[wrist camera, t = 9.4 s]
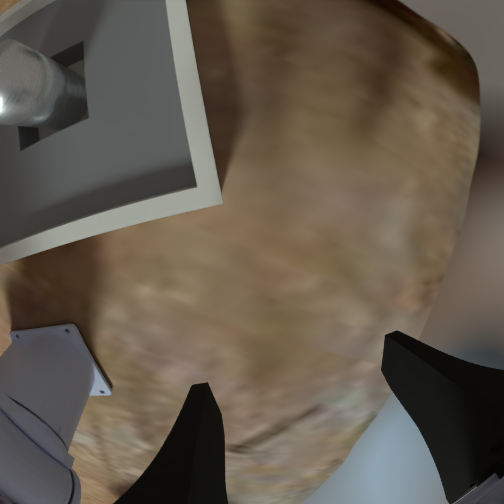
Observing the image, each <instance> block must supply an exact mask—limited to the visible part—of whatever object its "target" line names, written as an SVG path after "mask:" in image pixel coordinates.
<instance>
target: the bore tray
mask: <svg viewBox="0 0 504 504" xmlns="http://www.w3.org/2000/svg"><path fill="white" fill-rule="evenodd" d="M9 39H13V40H16V41H18V42H20V43H22V44H24V45H26V46H28V47H30V48H32V49H34V50H36V51H38V52H39V53H41V54H43V55H45V56H47V57H49V58H51V59H53V60H54V61H56V62H58V63H60V64H62V65H63V66H65V67H67V68H69V69H71V70H72V71H74V72H76V73H78V74H79V75H81V76H83V77H84V78H85V84H86V95H87V104H88V110H87V112H86V114H85V116H84V117H83V118H82V119H81V121H80V122H79V123H76V124H74V125H72V126H69V127H67V128H65V129H63V130H61V131H58V130H51V129H42V128H34V127H24V126H13V125H0V266H1V265H3V264H6V263H9V262H12V261H15V260H18V259H20V258H23V257H26V256H29V255H32V254H35V253H38V252H42V251H45V250H48V249H51V248H54V247H57V246H60V245H64V244H67V243H70V242H74V241H77V240H80V239H84V238H87V237H91V236H94V235H98V234H101V233H105V232H108V231H112V230H116V229H119V228H123V227H127V226H131V225H134V224H138V223H142V222H146V221H150V220H154V219H158V218H162V217H166V216H170V215H175V214H179V213H183V212H187V211H192V210H196V209H201V208H205V207H210V206H214V205H219V204H223V200H222V194H221V188H220V183H219V179H218V174H217V169H216V164H215V158H214V153H213V148H212V143H211V138H210V133H209V128H208V122H207V117H206V112H205V106H204V101H203V96H202V90H201V85H200V79H199V74H198V68H197V63H196V57H195V51H194V45H193V40H192V34H191V28H190V22H189V16H188V10H187V4H186V0H21V1H19V2H18V3H16V4H15V5H14V6H12V7H11V8H9V9H8V10H7V11H5V12H4V13H3V14H1V15H0V42H2V41H5V40H9Z"/></svg>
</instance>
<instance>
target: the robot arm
mask: <svg viewBox="0 0 504 504" xmlns="http://www.w3.org/2000/svg"><path fill="white" fill-rule="evenodd" d="M67 329H68V330H69V331H68V330H67ZM9 337H10V339H11V341H12V344H11V345H10V346H9V347H8V348H7V349H6V351H5V352H4V353H3V354H2V355H1V357H0V504H80V500H81V484H80V480H79V477H78V475H77V473H76V472H75V471H74V470H73V469H72V465H73V462H74V458H73V457H72V456H71V455H70V454H69V453H68V450H69V447H70V444H71V441H72V439H73V436H74V433H75V430H76V428H77V425H78V423H79V420H80V417H81V415H82V412H83V410H84V407H85V405H86V402H87V400H88V398H89V396H94V395H111V393H112V389H111V387H110V386H109V384H108V383H107V381H106V379H105V378H104V376H103V374H102V373H101V371H100V369H99V368H98V366H97V364H96V362H95V361H94V359H93V357H92V355H91V353H90V352H89V350H88V348H87V346H86V344H85V342H84V340H83V338H82V336H81V334H80V332H79V330H78V328H77V327H76V326H75V325H74V324H71V323H70V324H63V325H56V326H49V327H41V328H34V329H25V330H17V331H11V332H10V333H9ZM381 371H382V373H383V375H384V377H385V379H386V381H387V383H388V385H389V386H390V388H391V390H392V391H393V393H394V394H395V396H396V397H397V398H398V400H399V401H400V403H401V404H402V405H403V407H404V408H405V410H406V411H407V412H408V414H409V415H410V416H411V418H412V419H413V421H414V422H415V424H416V425H417V427H418V428H419V430H420V432H421V434H422V436H423V438H424V440H425V442H426V444H427V446H428V448H429V450H430V452H431V455H432V457H433V459H434V462H435V464H436V467H437V470H438V472H439V475H440V478H441V481H442V485H443V488H444V491H445V495H446V499H447V501H448V502H449V504H452V503H454V502H456V501H457V500H459V499H460V498H462V497H463V496H464V495H466V494H467V493H468V492H470V491H471V490H472V489H474V488H475V487H476V486H477V488H476V489H474V490H473V491H472V492H470V493H469V494H468V495H466V496H465V497H464V498H462V499H461V500H459V501H458V502H456V503H455V504H504V370H500V369H495V368H489V367H485V366H480V365H477V364H474V363H470V362H467V361H464V360H461V359H459V358H456V357H453V356H451V355H448V354H446V353H444V352H441V351H439V350H437V349H435V348H433V347H431V346H428V345H426V344H424V343H422V342H420V341H418V340H416V339H414V338H412V337H410V336H408V335H406V334H404V333H402V332H400V331H394V332H392V333H389V334H386V335H385V340H384V350H383V359H382V367H381ZM102 390H103V391H102ZM2 494H3V495H4V496H3V495H2ZM6 497H7V498H6ZM9 499H10V500H9ZM113 504H228V500H227V493H226V483H225V435H224V428H223V420H222V414H221V412H220V409H219V407H218V405H217V403H216V400H215V398H214V396H213V394H212V391H211V389H210V387H209V384H208V382H207V383H201V384H194V385H192V386H191V388H190V390H189V393H188V395H187V398H186V400H185V402H184V405H183V407H182V409H181V411H180V414H179V416H178V418H177V420H176V422H175V424H174V426H173V428H172V430H171V432H170V433H169V435H168V437H167V439H166V440H165V442H164V444H163V446H162V447H161V449H160V451H159V452H158V454H157V455H156V457H155V458H154V459H153V461H152V462H151V464H150V465H149V466H148V468H147V469H146V470H145V471H144V473H143V474H142V475H141V476H140V478H139V479H138V480H137V481H136V482H135V483H134V484H133V485H132V486H131V487H130V488H129V489H128V490H127V491H126V492H125V493H124V494H123V495H122V496H121V497H120V498H119V499H118V500H117V501H116V502H114V503H113Z"/></svg>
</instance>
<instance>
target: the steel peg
mask: <svg viewBox="0 0 504 504" xmlns="http://www.w3.org/2000/svg"><path fill="white" fill-rule="evenodd" d="M87 110H88V104H87V95H86V84H85V78H84V77H83V76H81V75H79V74H78V73H76V72H74V71H72V70H71V69H69V68H67V67H65V66H63V65H62V64H60V63H58V62H56V61H54V60H53V59H51V58H49V57H47V56H45V55H43V54H41V53H39V52H38V51H36V50H34V49H32V48H30V47H28V46H26V45H24V44H22V43H20V42H18V41H16V40H13V39H9V40H5V41H2V42H0V125H13V126H24V127H34V128H42V129H51V130H58V131H61V130H63V129H65V128H67V127H69V126H72V125H74V124H76V123H79V122H80V121H81V119H82V118H83V117H84V116H85V114H86V112H87Z"/></svg>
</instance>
